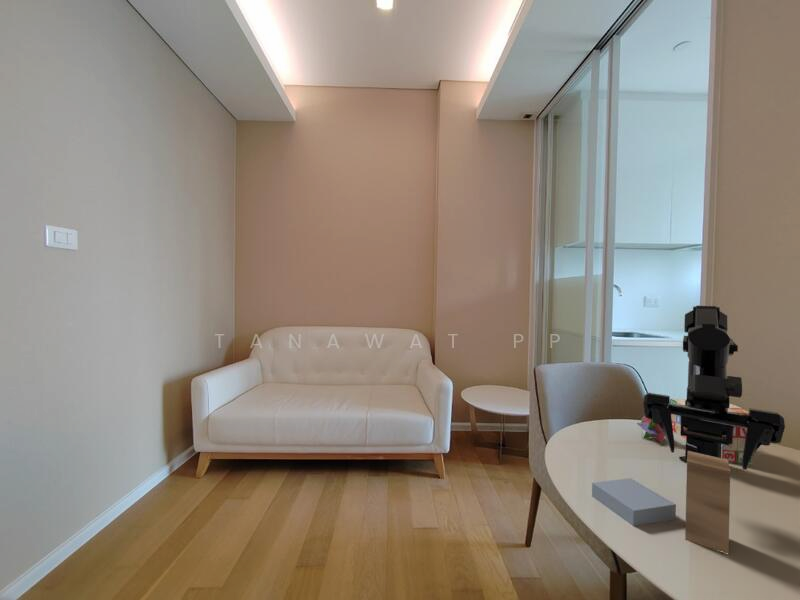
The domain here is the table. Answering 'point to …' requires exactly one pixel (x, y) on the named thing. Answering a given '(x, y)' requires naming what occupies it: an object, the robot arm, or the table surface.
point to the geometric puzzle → (651, 429)
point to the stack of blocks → (739, 435)
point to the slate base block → (633, 501)
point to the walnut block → (708, 501)
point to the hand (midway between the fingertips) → (706, 459)
